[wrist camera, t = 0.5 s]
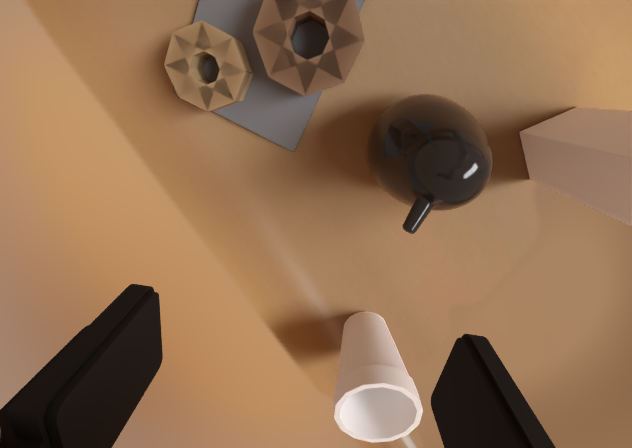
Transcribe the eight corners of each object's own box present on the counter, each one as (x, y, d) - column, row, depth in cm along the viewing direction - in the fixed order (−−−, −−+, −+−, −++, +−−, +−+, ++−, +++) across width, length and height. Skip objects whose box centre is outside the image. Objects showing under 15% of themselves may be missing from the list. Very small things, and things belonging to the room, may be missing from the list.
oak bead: (194, 16, 30) (179, 7, 27) (261, 52, 31) (254, 48, 28) (174, 86, 33) (158, 86, 30) (236, 118, 34) (227, 121, 31)
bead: (288, -35, 28) (282, -53, 25) (374, 17, 30) (380, 7, 26) (251, 65, 32) (241, 62, 28) (330, 107, 33) (330, 110, 29)
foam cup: (354, 361, 48) (363, 451, 36) (319, 322, 45) (316, 406, 33) (409, 335, 46) (438, 422, 34) (376, 291, 43) (395, 370, 31)
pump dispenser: (343, 157, 36) (353, 201, 22) (402, 72, 32) (460, 61, 18) (412, 204, 38) (462, 273, 24) (475, 130, 34) (578, 159, 20)
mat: (256, -190, 25) (255, -195, 24) (406, -89, 27) (407, -92, 26) (175, 91, 33) (173, 91, 33) (293, 151, 36) (293, 152, 35)
